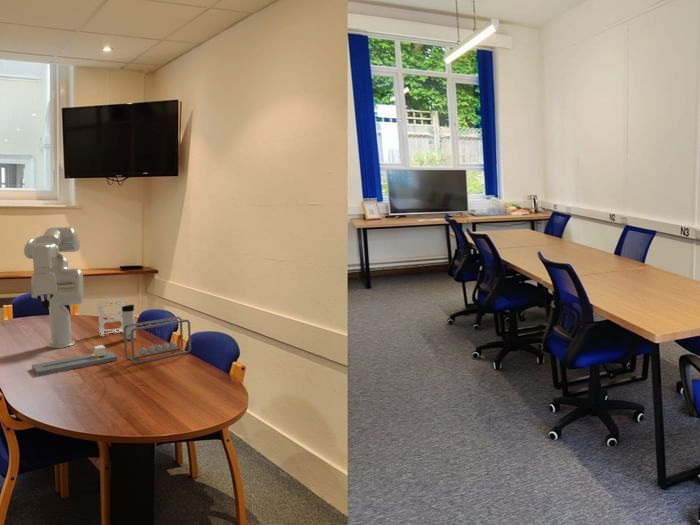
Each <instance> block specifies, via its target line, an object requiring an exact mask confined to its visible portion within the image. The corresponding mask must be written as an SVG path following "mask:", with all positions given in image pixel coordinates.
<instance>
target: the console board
mask: <svg viewBox="0 0 700 525" xmlns="http://www.w3.org/2000/svg"><path fill="white" fill-rule="evenodd" d="M116 360H117V361H118V355H116V354H115V353H113V352H111V351H110V350H106V355H104V356H98V357H97V356H96V355H94V353H89V354H85V355H79V356H72V357H67V358H62V359H56V360H52V361H46V362H41V363H34V364H31V370H32V369H33V370H32V371H33V373H35V375H37V377H41V376H45V374H46V375H50V374H49V373H51V374H54V373H53V372H56V373H59V372H58V371H61V372H64V371H63V370H66V371H69V370H68V369H71V370H74V369H73V368H76V369H79V368H78V367H81V368H85V367H84V366H86V367H90V366H89V365H91V366H95V365H94V364H96V365H100V364H99V363H102V364H105V362H107V363H111V362H110V361H112V362H117V361H116Z"/></svg>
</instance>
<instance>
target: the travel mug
mask: <svg viewBox="0 0 700 525" xmlns="http://www.w3.org/2000/svg"><path fill="white" fill-rule="evenodd" d="M122 317H123V332H122V335H123V337H124V327H125V326H126V325H129V324H135V323H136V322H135V320H136V319H135V304H128V305H125V306H124V307H122ZM132 327H133V328H136V326H132ZM133 328H131V327H127V328H126V338H127V342H128V340H129V341H131V331H132V329H133ZM136 336H137V335H136V330H135V331H134V332H133V337H134V340H135V339H136Z"/></svg>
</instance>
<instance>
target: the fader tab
mask: <svg viewBox="0 0 700 525" xmlns="http://www.w3.org/2000/svg"><path fill="white" fill-rule="evenodd" d="M106 349H107V348H106V346H104V345H103V344H101V345H100V344H99V345H95V346H93V354H94V355H96V356H97V357H98V356H104V355H106V351H107V350H106Z"/></svg>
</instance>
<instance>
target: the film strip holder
mask: <svg viewBox="0 0 700 525" xmlns="http://www.w3.org/2000/svg"><path fill="white" fill-rule="evenodd" d="M119 302H120V303H119ZM109 303H110V304H109ZM113 303H114V304H113ZM107 306H108V307H109V306H119V307H120V309H119V311H115V312H114V311H113V312H112V311H111V312H104V310H103V309H104V307H107ZM124 306H126V305H125V302H124V299H114V300H112V299H111V300H106V301H105V300H104V301H98V305H97V313H98V314H99V315H98V323H99V326H98V331H99V336H100V337H101V336H102V337H103V336H105V335H104V334H106V335H110V334H109V333H114V334H121V333H120V332H122V333H123V317H122V307H124ZM117 315H120V317H119V318H117ZM111 316H113V318H111ZM105 317H107V319H105ZM113 322H115V323H117V322H120V324H121V326H120V327H119V328H118V327H117V328H110V329H109V328H108V329H106V328H105V327H104V325H106V323H113ZM116 330H119V331H116ZM104 331H112V332H108V333H104ZM114 331H115V332H114ZM100 333H101V334H100Z"/></svg>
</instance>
